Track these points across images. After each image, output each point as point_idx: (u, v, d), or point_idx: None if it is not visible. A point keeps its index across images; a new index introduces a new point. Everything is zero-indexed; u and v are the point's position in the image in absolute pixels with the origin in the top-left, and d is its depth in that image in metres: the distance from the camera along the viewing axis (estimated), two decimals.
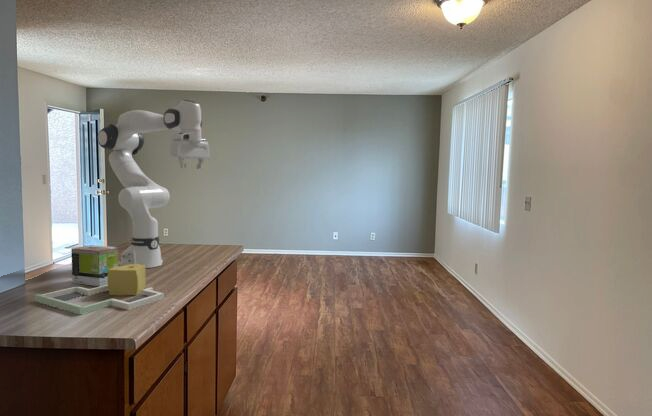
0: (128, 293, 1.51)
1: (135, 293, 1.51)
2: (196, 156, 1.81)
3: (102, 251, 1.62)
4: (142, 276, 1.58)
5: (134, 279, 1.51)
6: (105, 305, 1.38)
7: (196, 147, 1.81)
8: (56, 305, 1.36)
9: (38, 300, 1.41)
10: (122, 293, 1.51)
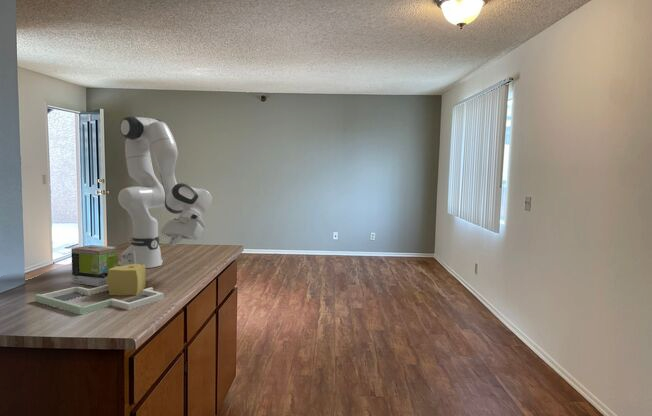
0: (128, 293, 1.51)
1: (135, 293, 1.51)
2: None
3: (102, 251, 1.62)
4: (142, 276, 1.58)
5: (134, 279, 1.51)
6: (105, 305, 1.38)
7: None
8: (56, 305, 1.36)
9: (38, 300, 1.41)
10: (122, 293, 1.51)
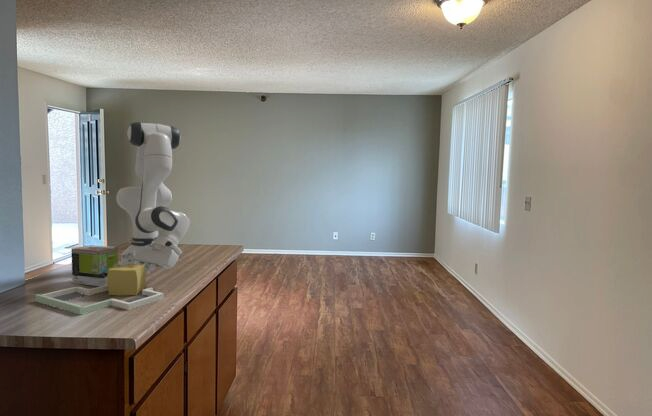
0: (128, 293, 1.51)
1: (135, 293, 1.51)
2: None
3: (102, 251, 1.62)
4: (142, 276, 1.57)
5: (133, 279, 1.51)
6: (105, 305, 1.38)
7: None
8: (56, 305, 1.36)
9: (38, 300, 1.41)
10: (122, 293, 1.51)
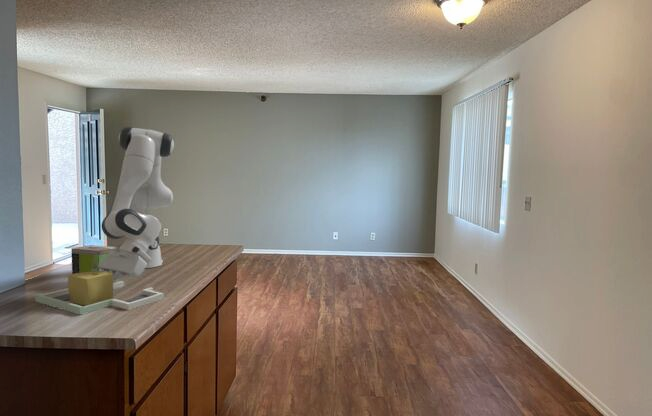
0: (82, 303, 1.39)
1: (86, 304, 1.38)
2: None
3: (102, 251, 1.62)
4: (105, 286, 1.43)
5: (85, 289, 1.37)
6: (105, 305, 1.38)
7: None
8: (56, 305, 1.36)
9: (38, 300, 1.41)
10: (78, 302, 1.40)
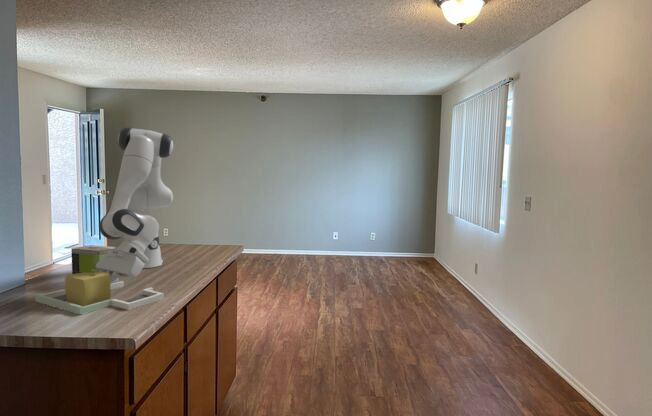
0: (79, 304, 1.38)
1: (83, 305, 1.37)
2: None
3: (102, 251, 1.62)
4: (102, 287, 1.42)
5: (82, 289, 1.37)
6: (105, 305, 1.38)
7: None
8: (56, 305, 1.36)
9: (38, 300, 1.41)
10: (75, 303, 1.39)
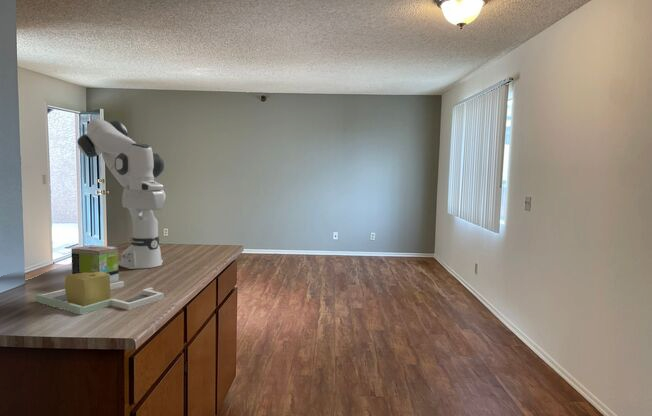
0: (79, 304, 1.38)
1: (83, 305, 1.37)
2: None
3: (102, 251, 1.62)
4: (102, 287, 1.42)
5: (82, 289, 1.36)
6: (105, 305, 1.38)
7: None
8: (56, 305, 1.36)
9: (38, 300, 1.41)
10: (75, 303, 1.39)
